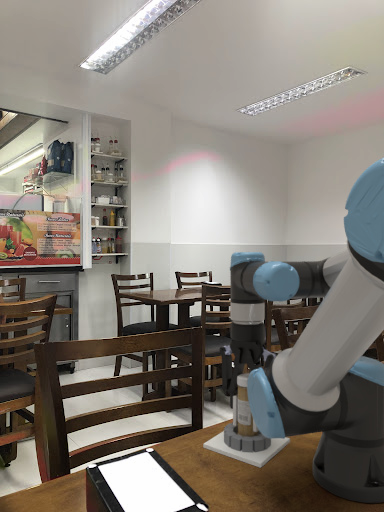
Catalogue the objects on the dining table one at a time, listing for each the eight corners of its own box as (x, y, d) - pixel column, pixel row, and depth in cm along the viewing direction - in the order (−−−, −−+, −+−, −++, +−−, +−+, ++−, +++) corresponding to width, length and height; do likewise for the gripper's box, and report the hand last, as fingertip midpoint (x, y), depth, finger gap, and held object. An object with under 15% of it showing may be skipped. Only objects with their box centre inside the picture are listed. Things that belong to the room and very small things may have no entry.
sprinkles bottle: (262, 437, 90) (262, 376, 90) (246, 442, 88) (246, 379, 88) (248, 429, 94) (248, 371, 94) (232, 434, 92) (232, 374, 91)
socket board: (290, 442, 92) (290, 427, 92) (260, 467, 81) (260, 451, 81) (236, 426, 101) (236, 413, 101) (203, 447, 90) (203, 432, 90)
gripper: (291, 323, 88) (291, 431, 88) (223, 315, 99) (223, 412, 99) (276, 328, 82) (275, 443, 82) (205, 319, 93) (205, 422, 93)
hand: (247, 426), depth 91 cm, fingers closed on sprinkles bottle, 4 cm apart
